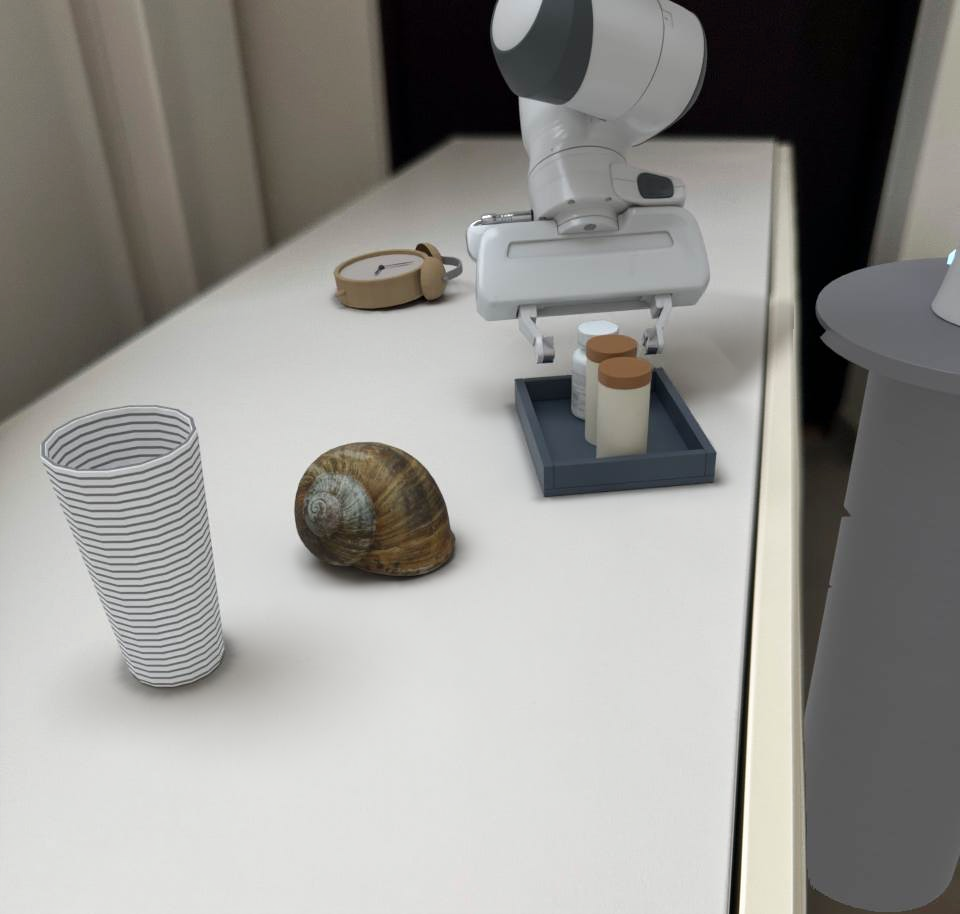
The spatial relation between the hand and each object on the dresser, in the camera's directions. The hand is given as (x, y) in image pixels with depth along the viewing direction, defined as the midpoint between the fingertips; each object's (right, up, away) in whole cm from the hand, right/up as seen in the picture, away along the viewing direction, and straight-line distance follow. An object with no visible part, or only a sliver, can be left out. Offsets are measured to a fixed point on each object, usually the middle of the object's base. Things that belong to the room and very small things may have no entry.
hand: (600, 356), depth 90 cm
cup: (-30, -26, -23) cm, 45 cm away
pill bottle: (0, -4, +3) cm, 5 cm away
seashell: (-18, -18, -13) cm, 29 cm away
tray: (+1, -7, 0) cm, 7 cm away
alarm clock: (-20, +16, +34) cm, 42 cm away
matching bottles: (+1, -9, -3) cm, 9 cm away
